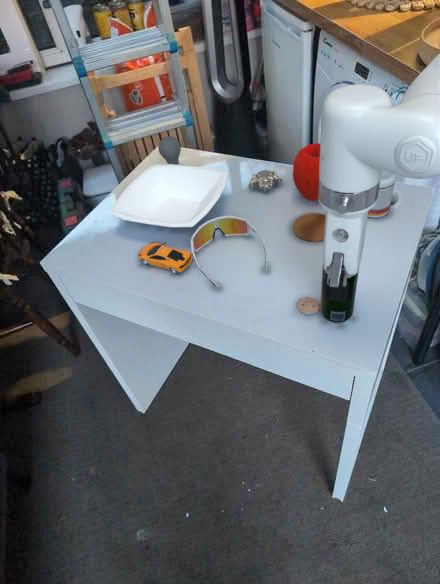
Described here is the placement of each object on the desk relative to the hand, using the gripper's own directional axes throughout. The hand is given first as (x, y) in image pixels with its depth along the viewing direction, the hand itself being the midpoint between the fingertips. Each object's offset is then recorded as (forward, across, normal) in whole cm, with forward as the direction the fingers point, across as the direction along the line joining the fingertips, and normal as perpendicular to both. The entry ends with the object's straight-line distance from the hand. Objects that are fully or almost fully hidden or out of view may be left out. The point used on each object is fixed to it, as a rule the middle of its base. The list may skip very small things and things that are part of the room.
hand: (339, 284), depth 69 cm
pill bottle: (+7, +30, -3) cm, 31 cm away
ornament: (+7, +35, +22) cm, 42 cm away
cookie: (+7, 0, +5) cm, 8 cm away
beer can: (+7, 0, 0) cm, 7 cm away
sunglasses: (+7, +10, +23) cm, 26 cm away
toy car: (+7, +6, +35) cm, 37 cm away
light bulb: (+7, +38, +47) cm, 61 cm away
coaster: (+7, +22, +8) cm, 24 cm away
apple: (+7, +33, +10) cm, 35 cm away
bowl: (+7, +22, +40) cm, 46 cm away
